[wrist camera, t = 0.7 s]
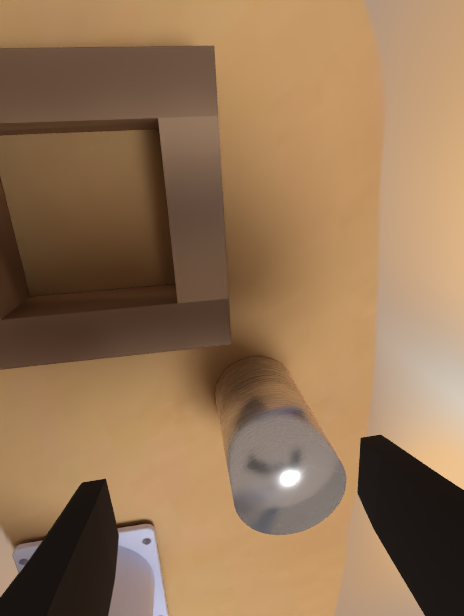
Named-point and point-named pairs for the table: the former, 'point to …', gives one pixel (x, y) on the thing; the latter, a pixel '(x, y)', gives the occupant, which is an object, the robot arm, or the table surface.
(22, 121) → the walnut socket block
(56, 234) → the table surface
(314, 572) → the table surface
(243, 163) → the table surface
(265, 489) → the metal peg
